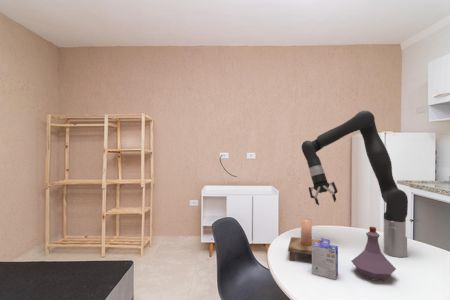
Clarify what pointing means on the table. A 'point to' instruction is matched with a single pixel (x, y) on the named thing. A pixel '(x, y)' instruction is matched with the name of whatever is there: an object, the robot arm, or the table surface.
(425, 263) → the table surface
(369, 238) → the flask
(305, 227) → the peach cylinder
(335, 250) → the ink cartridge box
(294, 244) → the walnut stand
